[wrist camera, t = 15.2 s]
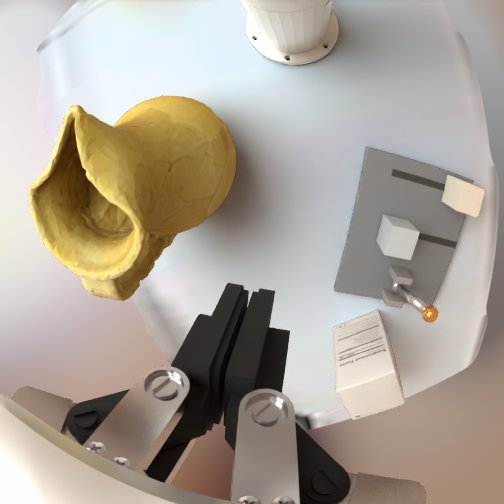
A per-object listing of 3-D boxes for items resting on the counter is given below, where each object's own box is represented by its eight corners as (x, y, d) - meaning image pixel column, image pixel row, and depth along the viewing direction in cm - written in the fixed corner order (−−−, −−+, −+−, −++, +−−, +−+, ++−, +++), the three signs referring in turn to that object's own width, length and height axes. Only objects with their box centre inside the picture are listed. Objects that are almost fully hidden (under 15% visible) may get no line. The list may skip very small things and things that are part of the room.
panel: (365, 146, 35) (374, 149, 30) (469, 179, 33) (485, 186, 28) (333, 286, 44) (336, 303, 40) (428, 301, 42) (437, 318, 38)
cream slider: (447, 174, 32) (463, 181, 27) (467, 182, 31) (485, 189, 27) (441, 201, 34) (456, 210, 29) (461, 207, 33) (477, 217, 29)
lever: (390, 278, 38) (435, 313, 31) (400, 276, 39) (443, 309, 32) (385, 291, 40) (427, 327, 32) (395, 289, 40) (436, 323, 33)
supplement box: (390, 342, 47) (406, 404, 33) (347, 358, 50) (352, 422, 37) (378, 307, 44) (397, 371, 31) (331, 326, 47) (334, 392, 34)
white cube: (383, 214, 36) (392, 225, 32) (407, 220, 36) (419, 232, 31) (376, 240, 38) (384, 254, 34) (400, 245, 38) (410, 260, 33)
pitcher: (274, 139, 36) (198, 166, 15) (207, 237, 45) (112, 339, 24) (179, 79, 35) (40, 64, 13) (128, 178, 44) (8, 234, 22)
